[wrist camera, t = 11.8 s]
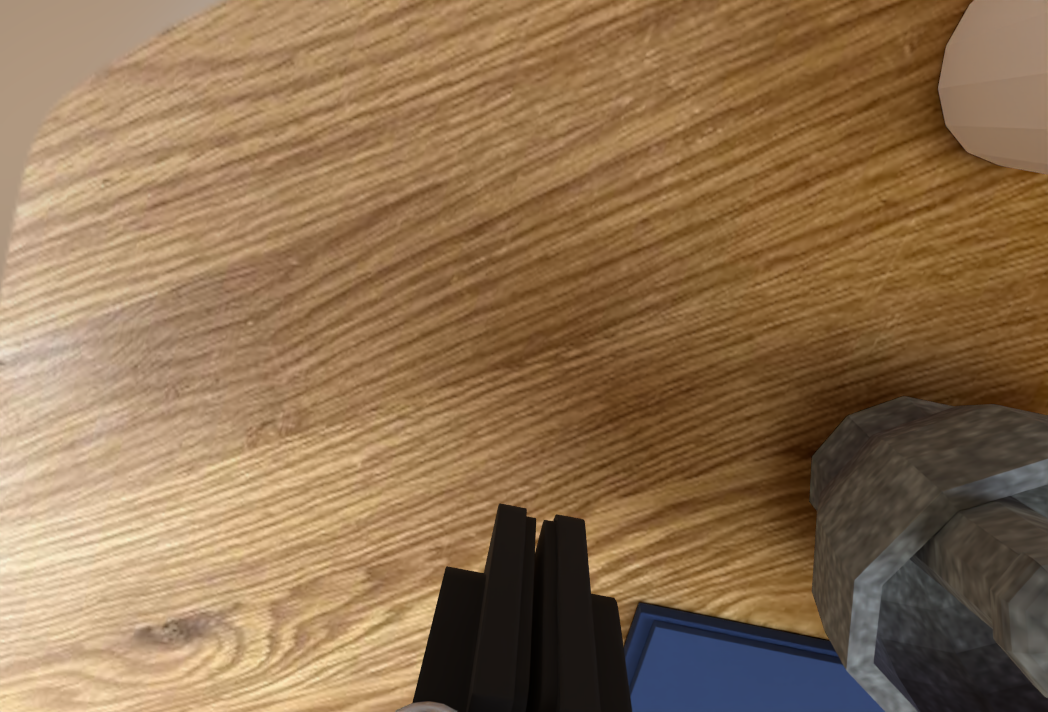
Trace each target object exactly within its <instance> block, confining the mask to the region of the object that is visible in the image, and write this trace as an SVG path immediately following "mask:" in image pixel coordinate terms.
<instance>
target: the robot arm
mask: <svg viewBox="0 0 1048 712" xmlns="http://www.w3.org/2000/svg"><path fill="white" fill-rule="evenodd" d="M526 514H527V509H526V508H521V507H516V506H510V505H505V504H500V503H499V506H498V510H497V515H496V519H495V524H494V528H493V533H492V538H491V542H490V547H489V552H488V556H487V561H486V566H485V570H484V573H479V572H474V571H468V570H463V569H458V568H452V567H447V566H446V569H445V573H444V577H443V581H442V585H441V589H440V593H439V597H438V601H437V605H436V609H435V613H434V618H433V622H432V626H431V630H430V634H429V638H428V642H427V646H426V650H425V654H424V658H423V662H422V666H421V670H420V674H419V679H418V683H417V687H416V691H415V695H414V699H413V703H411V704H409V705H407V706H405V707H402V708H400V709H398V710H396V711H395V712H632V705H631V698H630V690H629V683H628V676H627V669H626V662H625V654H624V647H623V640H622V633H621V626H620V618H619V611H618V606H617V602H616V600H615V598H612V597H606V596H601V595H596V594H591V589H590V577H589V565H588V553H587V541H586V529H585V521H584V520H583V519H578V518H573V517H568V516H563V515H557V514H556V515H555V518H554V521H548V520H544V522H543V525H542V528H541V532H540V536H539V540H538V544H537V548H536V552H535V537H536V518H532V517H527V516H526Z"/></svg>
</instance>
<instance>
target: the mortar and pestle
mask: <svg viewBox="0 0 1048 712" xmlns="http://www.w3.org/2000/svg"><path fill="white" fill-rule="evenodd" d="M809 502H810V503H811V504H812V505H813V507H814V508H815V509H816V510H817V519H816V535H815V551H814V567H813V582H812V593H813V596H814V599H815V602H816V605H817V608H818V611H819V615H820V618H821V621H822V624H823V627H824V630H825V632H826V634H827V636H828V638H829V640H830V642H831V643H832V645H833V647H834V649H835V651H836V653H837V654H838V656H839V658H840V660H841V662H842V664H843V665H844V667H845V669H846V671H847V672H848V673H849V674H850V675H851V676H852V677H853V678H854V679H855V680H856V681H857V682H858V683H859V684H860V686H861V687H862V688H863V689H864V690H865V691H866V692H867V693H868V694H869V695H870V696H871V697H872V698H873V699H874V700H875V701H876V702H877V703H878V704H879V706H880V707H881V708H882V709H883V710H884V711H885V712H1048V415H1043V414H1039V413H1034V412H1029V411H1024V410H1019V409H1015V408H1010V407H1005V406H1000V405H996V404H984V405H966V406H955V407H954V406H950V405H945V404H940V403H935V402H930V401H926V400H921V399H916V398H911V397H907V396H903V397H900V398H897V399H894V400H891V401H888V402H885V403H882V404H880V405H877V406H874V407H871V408H868V409H865V410H862V411H859V412H857V413H854V414H851V415H848V416H847V417H846V418H845V419H844V420H843V421H842V423H841V424H840V425H839V426H838V427H837V428H836V430H835V431H834V432H833V433H832V434H831V435H830V436H829V438H828V439H827V440H826V441H825V442H824V443H823V444H822V446H821V447H820V448H819V449H818V450H817V451H816V453H815V454H814V455H813V456H812V465H811V483H810V500H809Z"/></svg>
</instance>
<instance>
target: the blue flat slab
mask: <svg viewBox="0 0 1048 712" xmlns="http://www.w3.org/2000/svg"><path fill="white" fill-rule="evenodd" d="M624 654H625V662H626V669H627V676H628V683H629V690H630V698H631V705H632V712H885V711H884V710H883V709H882V708H881V707H880V706H879V704H878V703H877V702H876V701H875V700H874V699H873V698H872V697H871V696H870V695H869V694H868V693H867V692H866V691H865V690H864V689H863V688H862V687H861V686H860V684H859V683H858V682H857V681H856V680H855V679H854V678H853V677H852V676H851V675H850V674H849V673H848V672H847V671H846V669H845V667H844V665H843V664H842V662H841V660H840V658H839V656H838V654H837V653H836V651H835V649H834V647H833V645H832V643H831V642H830V641H827V640H822V639H817V638H812V637H807V636H802V635H797V634H792V633H787V632H782V631H778V630H773V629H768V628H763V627H758V626H753V625H748V624H743V623H738V622H733V621H728V620H723V619H718V618H714V617H709V616H704V615H699V614H694V613H689V612H684V611H679V610H674V609H669V608H664V607H659V606H654V605H650V604H645V603H639V604H638V607H637V610H636V613H635V616H634V619H633V622H632V625H631V628H630V631H629V634H628V636H627V639H626V642H625V645H624Z"/></svg>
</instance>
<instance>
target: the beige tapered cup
mask: <svg viewBox="0 0 1048 712" xmlns="http://www.w3.org/2000/svg"><path fill="white" fill-rule="evenodd" d="M938 91H939V96H940V101H941V106H942V111H943V115H944V120H945V125H946V127H947V128H948V129H949V130H950V132H951V133H952V134H953V135H954V136H955V138H956V139H957V140H958V141H959V143H960V144H961V145H962V146H963V148H964V149H965V150H966V151H967V152H968V153H970V154H973V155H975V156H977V157H980V158H982V159H985V160H987V161H989V162H992V163H994V164H997V165H999V166H1004V167H1010V168H1015V169H1021V170H1026V171H1032V172H1037V173H1043V174H1048V0H974V1H973V2H972V3H970V5H969V6H968V8H967V10H966V12H965V13H964V15H963V17H962V19H961V20H960V22H959V24H958V26H957V28H956V29H955V31H954V33H953V35H952V36H951V38H950V40H949V42H948V43H947V45H946V49H945V54H944V59H943V64H942V70H941V75H940V80H939V85H938Z"/></svg>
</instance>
